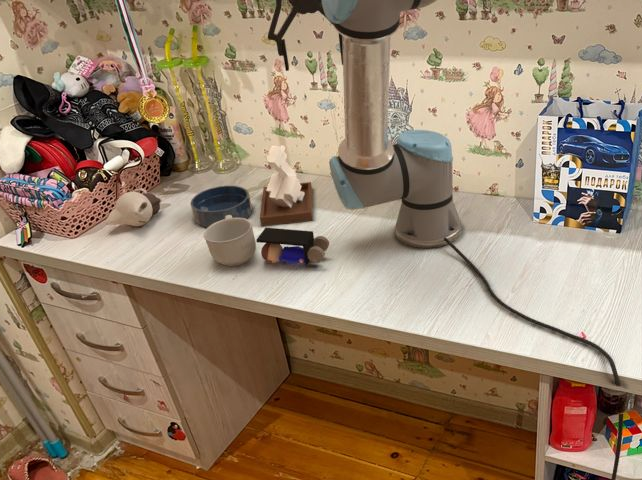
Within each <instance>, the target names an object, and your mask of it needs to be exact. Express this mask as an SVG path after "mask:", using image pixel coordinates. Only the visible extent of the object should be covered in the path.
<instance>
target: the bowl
mask: <svg viewBox="0 0 642 480" xmlns="http://www.w3.org/2000/svg"><path fill="white" fill-rule="evenodd" d="M190 207H191V208H190V209H191V213H192V215H193V219H194V221H195V223H196V224H197V225H200V226H201V227H205V228H208V227H209V226H210V225H212V224H214V223H215V222H218V221H221V220H224V219H225V216H227V215H231V216H232V217H233V218H245V219H247V218H249V217H250V215H251V214H252V212H253V205H252V201H251V195H250V192H249V191H248V189H246V188H245V187H242V186H238V185H219V186H215V187H210V188H207V189H205V190H202V191H201V192H199V193H197V194H195V195H194V196H193V197H192V198H191V201H190Z"/></svg>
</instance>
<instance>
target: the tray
mask: <svg viewBox="0 0 642 480" xmlns="http://www.w3.org/2000/svg"><path fill="white" fill-rule="evenodd" d="M300 185H301V186H302V187H301V190H300V191H301V192H304V193H305V194H304V197H303V200H302V202H301V201H296V203H294V202H293V204H292V207H291V208H288V207H282V206H278V205H277V204H276V203H275V202H274V201H273V200H272V199H271V198H270V197H269V196H270V194H269V193H268V192H267V191H266V189H267V187H268V186H263V190H262V197H261V205H260V214H259V221H260V225H261V227H266V226H277V225H286V224H295V223H303V222H312V221H313V186H312V185H313V184H312V181H309V182H308V181H307V182H300Z"/></svg>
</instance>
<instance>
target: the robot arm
mask: <svg viewBox="0 0 642 480" xmlns="http://www.w3.org/2000/svg"><path fill="white" fill-rule="evenodd" d="M286 1H287V2H288V3H289V4H290V5H291V6H292V7H291V9H290V11H289V13H288V15H287V16H286V18H285V20H284V22H283V23H282V25H281V26H280V28H279V30H278V32H277V33H275V32H276V28H277V25H278V21H279V18H280V15H281V11H282V6H285V4H286ZM437 1H438V0H275V8H274V12H273V15H272V19H271V22H270V25H269V29H268V33H267V40H269V41H273V42H275V43H276V50H277V55H278V56H279V57H283V63H284V68H285V71H286V72H289V71H290V64H289V58H288V57H289V56H288V52H287V45H286V40H285V38H284V36H285V34H286V32H287V31H288V30H289V27H290V26H291V24H292V23H293V21H294V19H295V18H296V17H297V14H298V13H299V14H301V15H306V14H315V13H316V12H319V13H320V14H321V15H322V16H324V18H325V19H326V20H327V21H328V22H329V23H330V24H331V25H332V26H333V27H334V29H335V31H336V32H337V33H338V41H339V48H340V49H339V53H340V60H341V65H342V73H343V74H342V75H343V79H342V80H343V108H344V109H343V110H344V113H343V115H344V138H343V140H342V141H340V143H339V145H338V147H337V151H338V152H337V155H334V156H332V157H331V158H330V159H329V162H328V163H329V171H330V174H331V177H332V181H333V184H334V187H335V191H336V193H337V195H338V197H339V200H340V202H341V204H342V205H343V207H344V208H345V209H346V210H350V211H353V210H354V211H355V210H361V209H366V208H371V207H375V206H379V205H382V204H386V203H390V202H395V201H400V200H401V204H400V207H399V211H398V215H397V219H396V222H395V227H394V228H395V236H396V238H397V240H399V242H400V243H402V244H404V245H407V246H409V247H414V248H419V249H431V248H438V247H443V246H446V245H449V247H450V248H452V250H454V252H456V254H457V255H459V256H460V257H461V258H462V259H463V261H464V262H465V263H466V264H467V265H468V266H469V267H470V268H471V269H472V270H473V271H474V273H476V275H477V276H478V277H479V279H481V281H482V282H483V284H484V286H485V288H486V289H487V291H488V294H489V295H490V296H491V297H492V299H493V300H495V302H496V303H498V304H499V305H500V306H502V307H503V308H504V309H506V310H507V311H509V312H511V313H512V314H514V315H516V316H518V317H520V318H521V319H523V320H525V321H527V322H529V323H532V324H534V325H536V326H539V327H542V328H544V329H548V330H550V331H553V332H555V333H557V334H559V335H562V336H565V337H567V338H570V339H573V340H575V341H578V342H579V343H583V344H585V345H587V346H589V347H592V348H593V349H595V350H597V351H598V352H599V353H600V354H601V355H602V356H604V357H605V358H606V360H607V361H608V363H609V365H610V368H611V371H612V375H613V379H614V381H615V385H616V386H618V387H621V386H622V384H621V380H620V377H619V374H618V370H617V367H616V364H615V363H616V362H615V361H614V359H613V358H612V356H611V355H610V354H609V353H608V352H607V351H605V349H603V348H602V347H601V346H599V345H598V344H596V343H594V342H593V341H591V340H589V339H586V338H583V337H581V336H578V335H576V334H574V333H573V334H572V333H569V332H568V331H565V330H563V329H560V328H559V327H556V326H553V325H550V324H547V323H544V322H542V321H540V320H536V319H534V318H531V317H530V316H528V315H526V314H524V313H521V312H520V311H518V310H516V309H515V308H513V307H510V305H508V304H506V303H505V302H503V300H502V299H500V298H499V297H498V296H497V295H496V294H495V292H494V290H492V287H491V286H490V284H489V282H488V280H487V278H485V276H484V275H483V273H481V272H480V271H479V269H478V268H477V267H476V266H475V265H474V264H473V262H471V261H470V259H469V258H468V257H467V256H466V255H465V254H464V253H463V252H461V250H460V249H458V248H457V246H456V245H455V244H453V243H452V242H454V241H456V240H457V239H458V238H459V237H460V236H461V233H462V220H461V218H460V216H459V213H458V209H457V207H456V205H455V202H454V193H453V192H454V190H453V189H454V188H453V182H454V181H453V176H454V175H453V161H454V157H453V149H452V142H451V141H450V139H449V138H448V137H447V136H446V135H444V134H442V133H440V132H437V131H434V130H428V129H411V130H406V131H403V132H402V133H399V134H398V135H397V138H396V143H395V144H393V143H392V142H391V141H390V140H389V138H388V134H389V133H388V129H389V100H390V99H389V98H390V97H389V96H390V67H391V65H390V64H391V36H392V35H394V34H395V33H396V32H397V31H398V30H399V28H400V22H401V20H400V19H401V13H402V12H407V11H412V10H416V9H423V8H426V7H428V6H430V5H432V4H433V3H436V2H437ZM623 427H624V413H618V428H617V440H616V448H615V455H614V462H613V467H612V474H611V479H610V480H616V479H617V474H618V469H619V463H620V456H621V449H622V441H623V432H624V431H623V429H624V428H623Z"/></svg>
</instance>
